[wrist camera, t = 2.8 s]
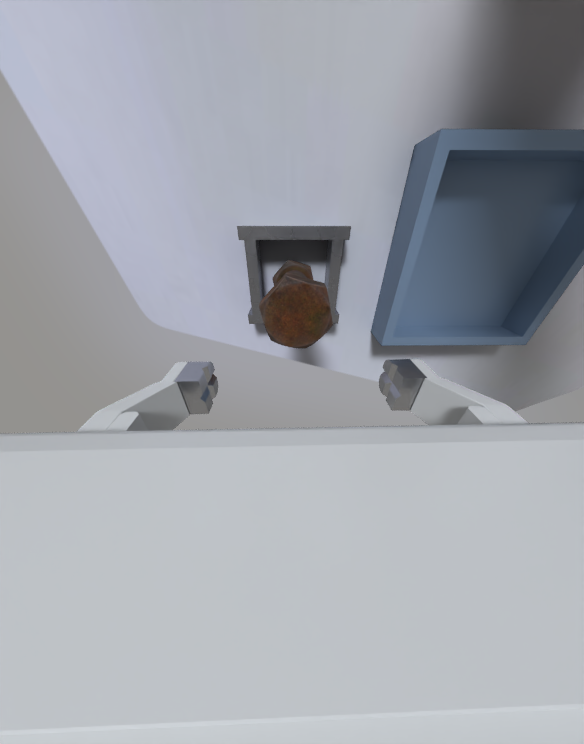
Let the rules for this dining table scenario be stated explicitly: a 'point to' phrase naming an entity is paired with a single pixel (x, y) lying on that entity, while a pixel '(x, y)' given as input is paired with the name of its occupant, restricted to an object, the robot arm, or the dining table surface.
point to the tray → (483, 237)
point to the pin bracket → (257, 233)
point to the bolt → (296, 307)
